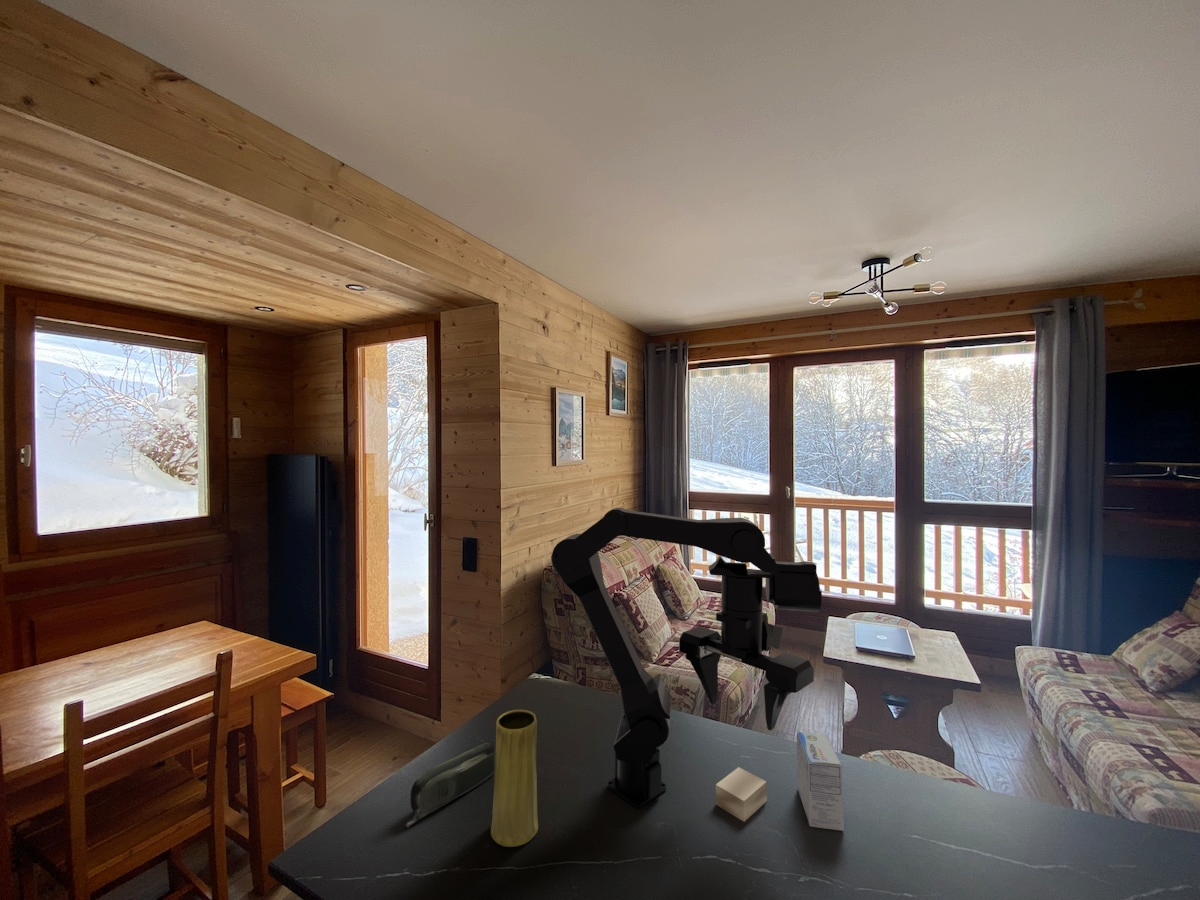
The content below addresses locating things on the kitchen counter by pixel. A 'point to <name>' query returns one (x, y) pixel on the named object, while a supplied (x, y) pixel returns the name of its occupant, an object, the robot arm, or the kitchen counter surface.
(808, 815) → the medicine box
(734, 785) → the beech block
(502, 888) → the kitchen counter surface
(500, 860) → the kitchen counter surface
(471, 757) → the stapler
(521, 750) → the vase
